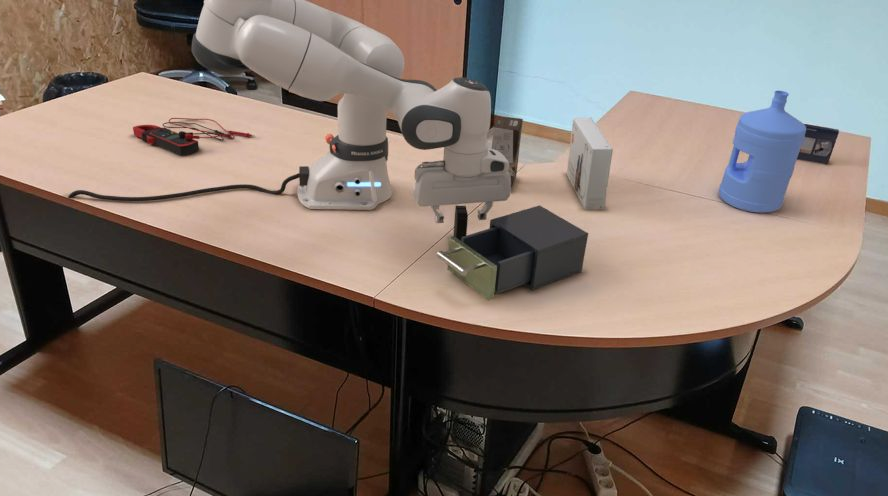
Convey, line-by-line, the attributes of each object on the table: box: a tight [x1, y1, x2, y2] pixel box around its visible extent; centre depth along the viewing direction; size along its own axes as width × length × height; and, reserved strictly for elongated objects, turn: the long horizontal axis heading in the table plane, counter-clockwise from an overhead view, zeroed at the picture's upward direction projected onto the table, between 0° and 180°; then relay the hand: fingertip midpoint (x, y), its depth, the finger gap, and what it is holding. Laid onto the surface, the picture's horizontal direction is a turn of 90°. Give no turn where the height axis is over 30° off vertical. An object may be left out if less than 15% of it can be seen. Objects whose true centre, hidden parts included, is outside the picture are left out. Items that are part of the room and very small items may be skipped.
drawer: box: [436, 227, 535, 302], centre depth 143 cm, size 17×13×7 cm
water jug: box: [718, 90, 806, 214], centre depth 180 cm, size 16×16×28 cm
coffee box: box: [491, 116, 524, 192], centre depth 183 cm, size 9×6×16 cm
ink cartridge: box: [452, 204, 469, 241], centre depth 157 cm, size 5×2×8 cm, turn 5°
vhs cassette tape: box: [797, 123, 840, 165], centre depth 213 cm, size 18×3×10 cm, turn 68°
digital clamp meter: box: [132, 117, 254, 157], centre depth 199 cm, size 23×4×25 cm
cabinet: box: [488, 205, 589, 291], centre depth 150 cm, size 14×15×9 cm
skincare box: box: [566, 116, 614, 211], centre depth 182 cm, size 21×5×16 cm, turn 5°
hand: (460, 220), depth 156 cm, fingers open, 8 cm apart
